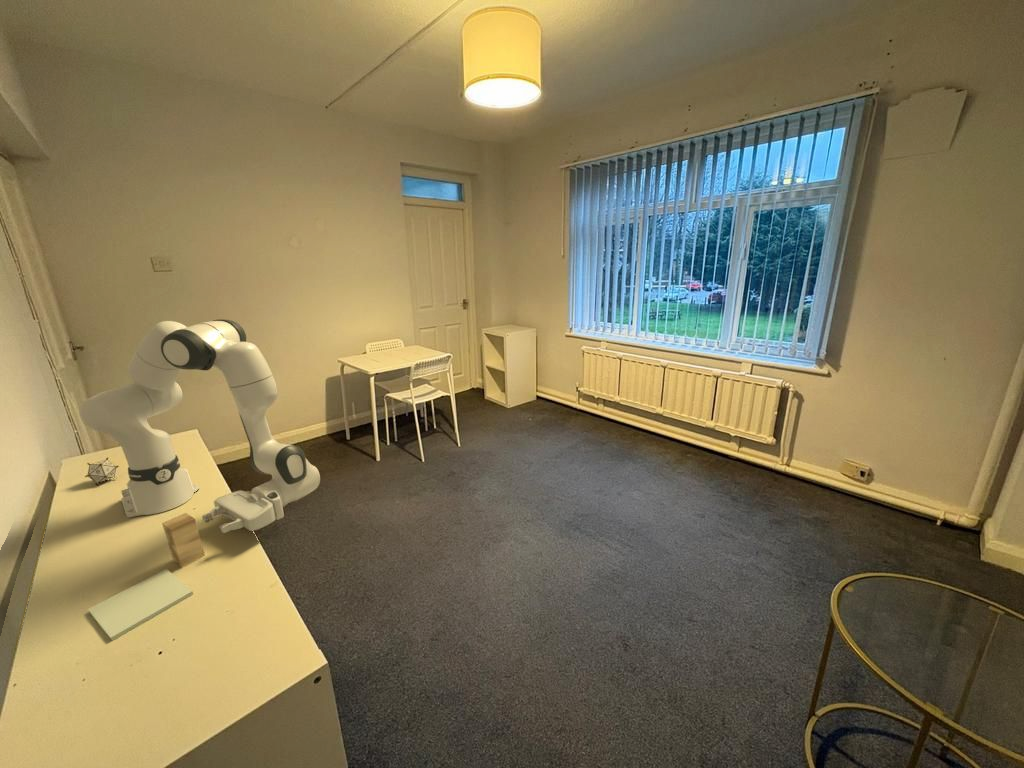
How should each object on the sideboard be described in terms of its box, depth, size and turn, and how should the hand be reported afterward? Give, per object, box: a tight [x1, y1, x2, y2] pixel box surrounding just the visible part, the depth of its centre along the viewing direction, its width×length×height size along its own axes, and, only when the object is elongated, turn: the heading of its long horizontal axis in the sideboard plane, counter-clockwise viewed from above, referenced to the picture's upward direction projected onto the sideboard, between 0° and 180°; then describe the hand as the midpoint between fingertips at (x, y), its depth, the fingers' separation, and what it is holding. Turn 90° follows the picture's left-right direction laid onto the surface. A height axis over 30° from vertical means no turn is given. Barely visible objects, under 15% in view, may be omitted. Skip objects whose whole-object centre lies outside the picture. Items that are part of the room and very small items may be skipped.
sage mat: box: [87, 568, 194, 641], centre depth 91 cm, size 14×14×1 cm
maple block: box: [161, 512, 206, 568], centre depth 103 cm, size 5×5×11 cm
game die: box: [84, 457, 120, 484], centre depth 144 cm, size 9×8×10 cm
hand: (212, 524), depth 108 cm, fingers open, 8 cm apart
